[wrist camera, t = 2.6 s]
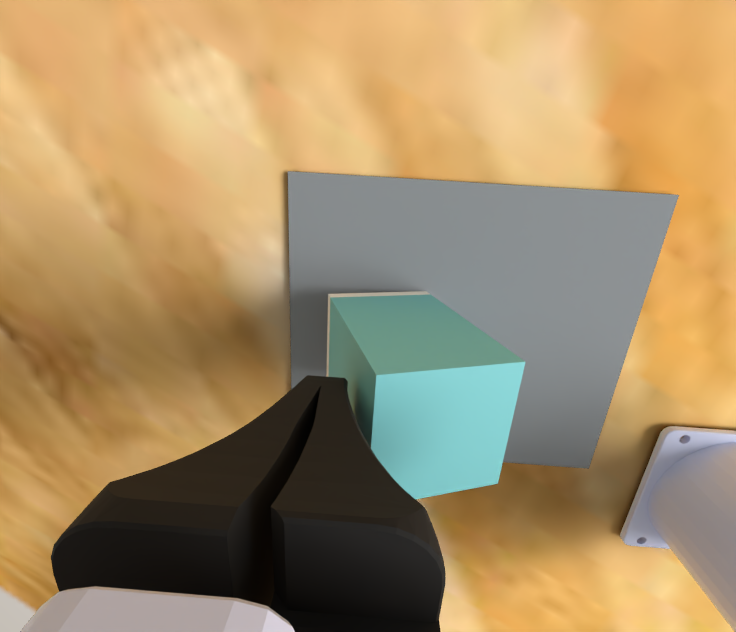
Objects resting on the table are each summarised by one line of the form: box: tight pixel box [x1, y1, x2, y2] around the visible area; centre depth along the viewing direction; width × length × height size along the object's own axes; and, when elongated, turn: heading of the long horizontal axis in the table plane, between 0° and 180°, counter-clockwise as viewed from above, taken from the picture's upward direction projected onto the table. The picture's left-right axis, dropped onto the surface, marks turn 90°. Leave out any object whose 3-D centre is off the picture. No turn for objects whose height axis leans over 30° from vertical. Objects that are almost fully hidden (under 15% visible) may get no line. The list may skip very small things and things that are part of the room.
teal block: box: [326, 291, 525, 499], centre depth 14 cm, size 4×4×7 cm
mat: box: [288, 171, 679, 469], centre depth 18 cm, size 16×14×1 cm
